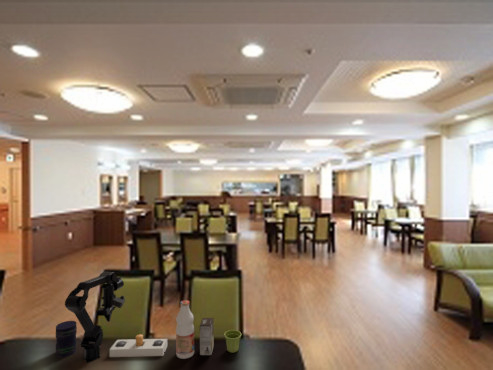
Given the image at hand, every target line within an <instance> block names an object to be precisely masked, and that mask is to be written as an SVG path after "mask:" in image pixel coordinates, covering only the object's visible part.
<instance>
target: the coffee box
mask: <svg viewBox="0 0 493 370" xmlns="http://www.w3.org/2000/svg"><path fill="white" fill-rule="evenodd" d="M214 326H215V325H214V317H203V318H202V319H201V322H200V324H199V355H200V356H211V355H212V353H213V349H214V343H215V341H214V340H215V339H214V337H215V335H214V331H215V330H214Z"/></svg>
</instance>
